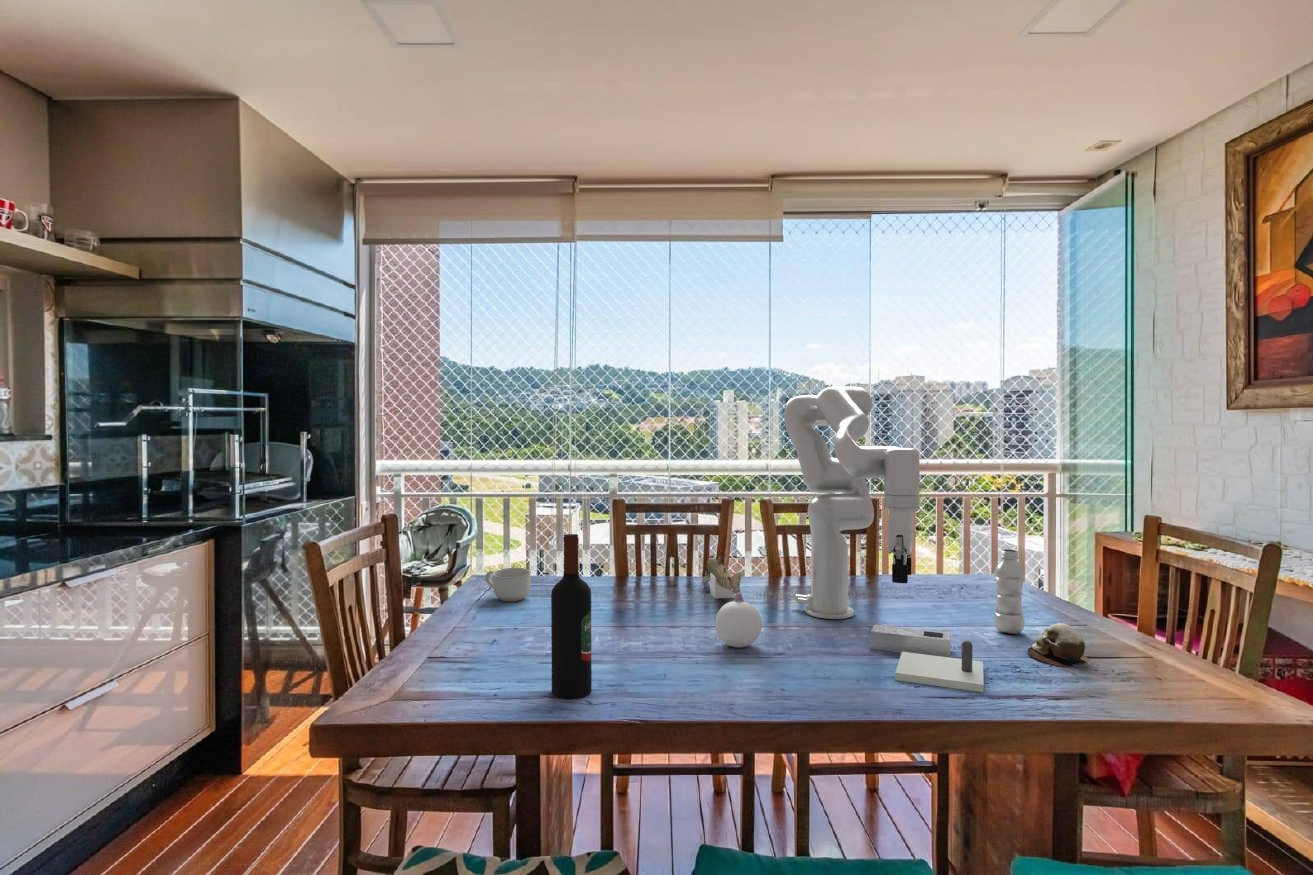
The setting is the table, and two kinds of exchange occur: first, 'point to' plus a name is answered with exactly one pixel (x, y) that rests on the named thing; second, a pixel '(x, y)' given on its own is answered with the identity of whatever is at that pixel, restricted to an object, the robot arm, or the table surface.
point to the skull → (1060, 646)
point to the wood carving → (722, 580)
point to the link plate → (910, 640)
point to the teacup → (510, 583)
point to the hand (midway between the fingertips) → (901, 578)
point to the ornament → (738, 623)
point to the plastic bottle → (1009, 593)
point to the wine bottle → (571, 629)
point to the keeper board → (942, 670)
